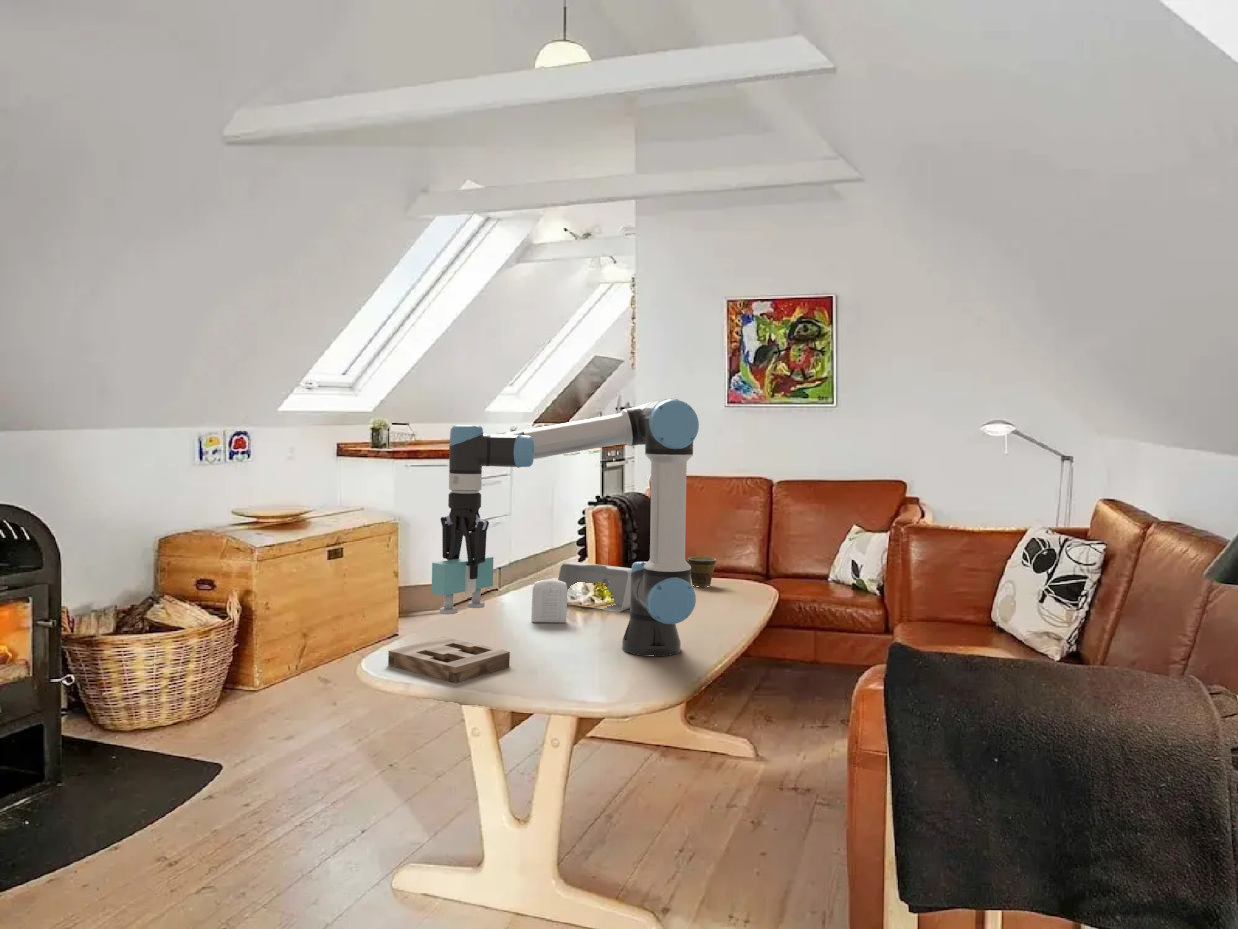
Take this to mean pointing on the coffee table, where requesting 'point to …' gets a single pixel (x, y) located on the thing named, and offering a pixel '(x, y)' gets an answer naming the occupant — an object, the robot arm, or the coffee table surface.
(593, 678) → the coffee table surface
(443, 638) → the keyhole board
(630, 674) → the coffee table surface
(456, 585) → the block with headed pegs
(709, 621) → the coffee table surface
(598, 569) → the grey storage bin
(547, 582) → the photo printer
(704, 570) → the ceramic cup
